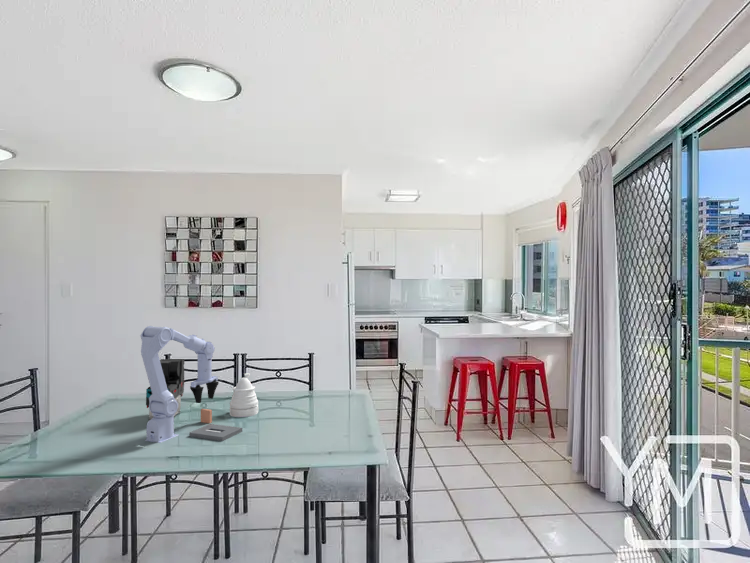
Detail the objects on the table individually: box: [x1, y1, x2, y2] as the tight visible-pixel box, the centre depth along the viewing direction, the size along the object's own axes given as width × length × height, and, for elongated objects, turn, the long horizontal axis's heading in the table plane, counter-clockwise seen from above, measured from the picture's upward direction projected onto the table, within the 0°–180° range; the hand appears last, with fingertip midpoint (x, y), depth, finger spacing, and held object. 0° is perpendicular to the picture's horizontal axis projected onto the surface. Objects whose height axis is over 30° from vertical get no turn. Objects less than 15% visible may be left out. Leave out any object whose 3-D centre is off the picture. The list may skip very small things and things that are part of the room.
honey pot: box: [229, 372, 259, 418], centre depth 215 cm, size 13×13×18 cm
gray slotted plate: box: [188, 423, 243, 442], centre depth 184 cm, size 12×16×2 cm
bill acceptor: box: [145, 358, 185, 421], centre depth 208 cm, size 10×23×25 cm, turn 8°
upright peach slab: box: [200, 408, 213, 424], centre depth 199 cm, size 1×5×6 cm, turn 68°
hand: (204, 400), depth 199 cm, fingers open, 7 cm apart
